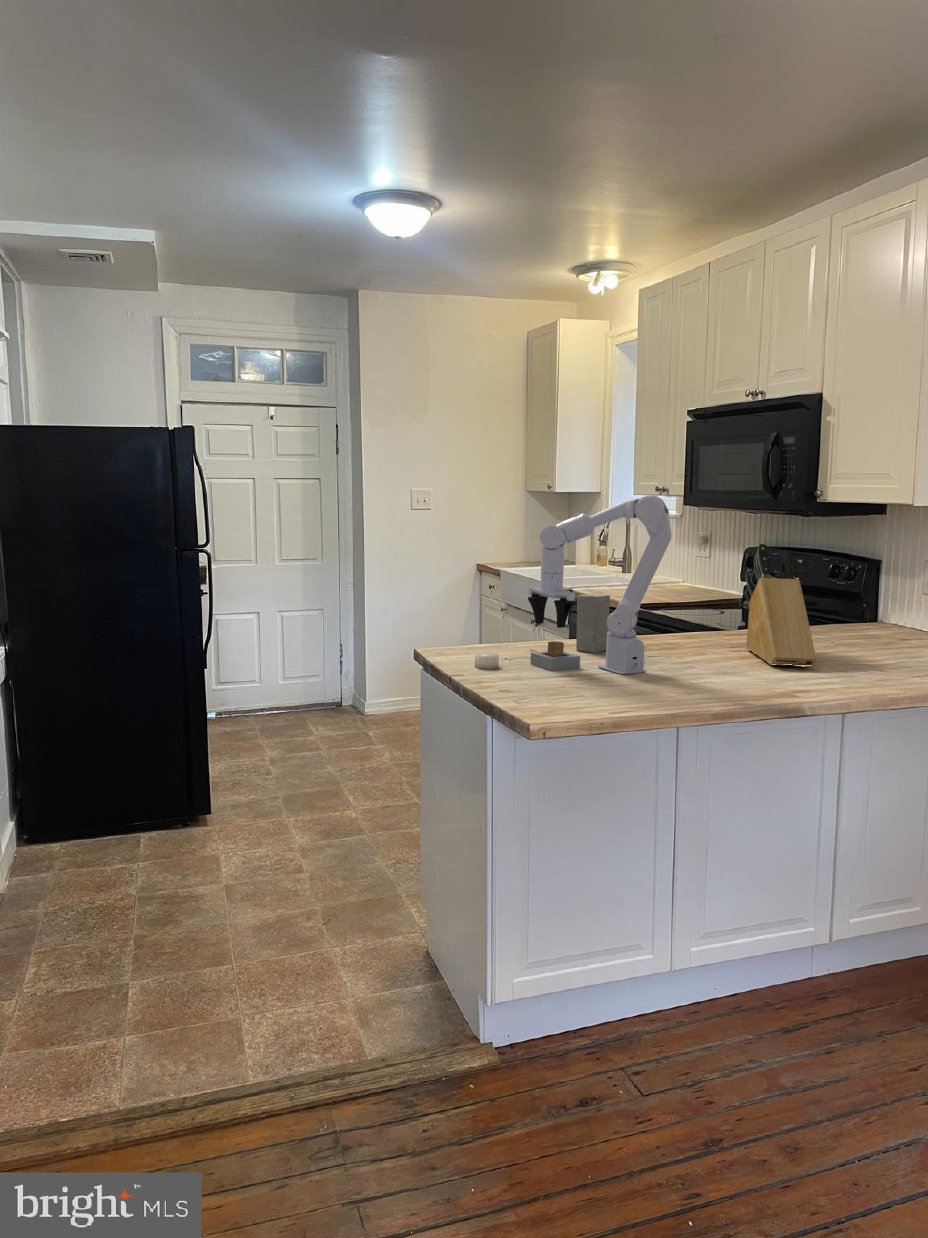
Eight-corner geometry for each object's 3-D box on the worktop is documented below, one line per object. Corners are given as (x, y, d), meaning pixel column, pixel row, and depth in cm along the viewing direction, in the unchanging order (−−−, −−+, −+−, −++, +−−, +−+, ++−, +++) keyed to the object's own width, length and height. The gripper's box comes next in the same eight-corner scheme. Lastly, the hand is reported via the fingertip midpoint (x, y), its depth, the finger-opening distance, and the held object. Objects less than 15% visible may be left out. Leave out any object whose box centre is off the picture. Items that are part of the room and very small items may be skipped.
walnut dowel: (565, 667, 227) (566, 644, 226) (550, 667, 226) (552, 644, 225) (558, 664, 231) (559, 641, 230) (544, 664, 230) (545, 641, 229)
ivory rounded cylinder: (503, 666, 226) (503, 655, 226) (488, 669, 222) (488, 657, 221) (484, 663, 230) (485, 652, 230) (469, 666, 226) (470, 654, 225)
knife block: (775, 646, 265) (784, 541, 260) (816, 671, 230) (826, 550, 226) (737, 645, 266) (744, 540, 261) (772, 669, 231) (781, 549, 226)
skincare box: (595, 654, 246) (598, 596, 244) (573, 650, 250) (575, 594, 248) (610, 649, 253) (613, 594, 250) (588, 646, 257) (590, 591, 254)
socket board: (579, 667, 227) (580, 656, 227) (550, 670, 223) (551, 658, 222) (558, 661, 235) (559, 649, 234) (530, 664, 230) (530, 652, 230)
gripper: (584, 574, 225) (581, 627, 228) (542, 569, 236) (540, 620, 238) (564, 576, 221) (562, 630, 223) (523, 570, 232) (521, 622, 234)
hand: (550, 625), depth 230 cm, fingers open, 7 cm apart
